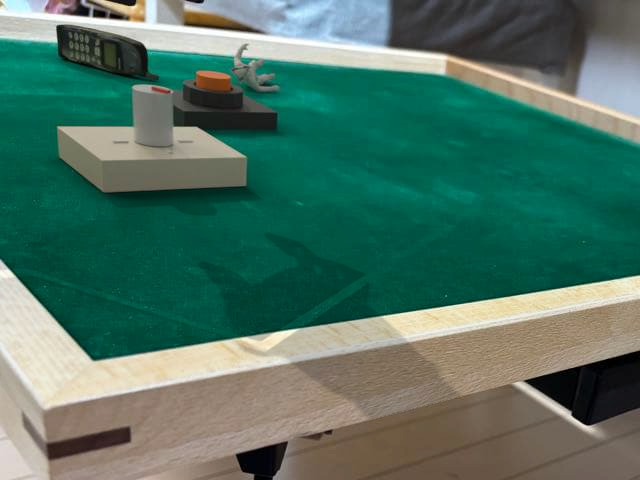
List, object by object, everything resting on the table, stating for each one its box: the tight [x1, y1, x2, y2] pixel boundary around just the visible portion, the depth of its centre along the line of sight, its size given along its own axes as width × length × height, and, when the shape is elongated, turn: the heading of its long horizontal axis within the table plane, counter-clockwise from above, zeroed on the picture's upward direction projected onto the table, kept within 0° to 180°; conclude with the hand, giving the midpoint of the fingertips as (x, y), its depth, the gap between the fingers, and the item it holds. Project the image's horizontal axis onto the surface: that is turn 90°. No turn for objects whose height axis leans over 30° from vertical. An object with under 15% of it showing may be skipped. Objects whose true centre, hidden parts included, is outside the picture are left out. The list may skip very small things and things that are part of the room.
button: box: [195, 70, 232, 91], centre depth 108 cm, size 4×4×2 cm
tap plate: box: [56, 126, 248, 194], centre depth 87 cm, size 14×11×3 cm
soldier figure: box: [229, 43, 281, 93], centre depth 129 cm, size 8×5×12 cm
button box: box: [171, 78, 279, 131], centre depth 109 cm, size 12×10×4 cm
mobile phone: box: [55, 23, 160, 81], centre depth 121 cm, size 5×3×15 cm
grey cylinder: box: [131, 84, 174, 147], centre depth 85 cm, size 4×4×5 cm
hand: (155, 1), depth 80 cm, fingers open, 9 cm apart
